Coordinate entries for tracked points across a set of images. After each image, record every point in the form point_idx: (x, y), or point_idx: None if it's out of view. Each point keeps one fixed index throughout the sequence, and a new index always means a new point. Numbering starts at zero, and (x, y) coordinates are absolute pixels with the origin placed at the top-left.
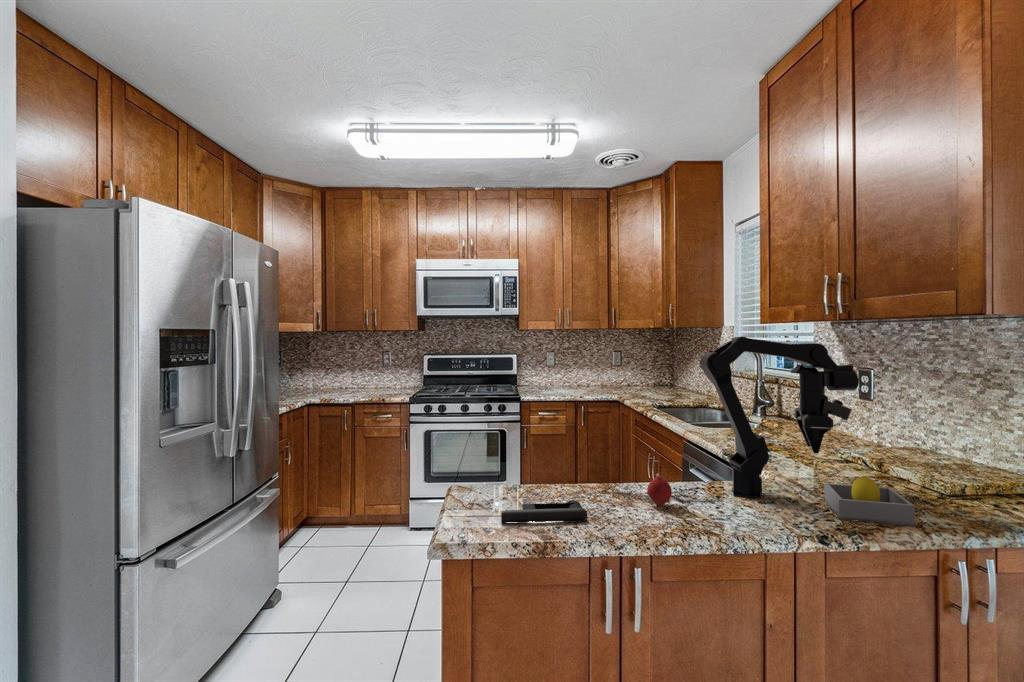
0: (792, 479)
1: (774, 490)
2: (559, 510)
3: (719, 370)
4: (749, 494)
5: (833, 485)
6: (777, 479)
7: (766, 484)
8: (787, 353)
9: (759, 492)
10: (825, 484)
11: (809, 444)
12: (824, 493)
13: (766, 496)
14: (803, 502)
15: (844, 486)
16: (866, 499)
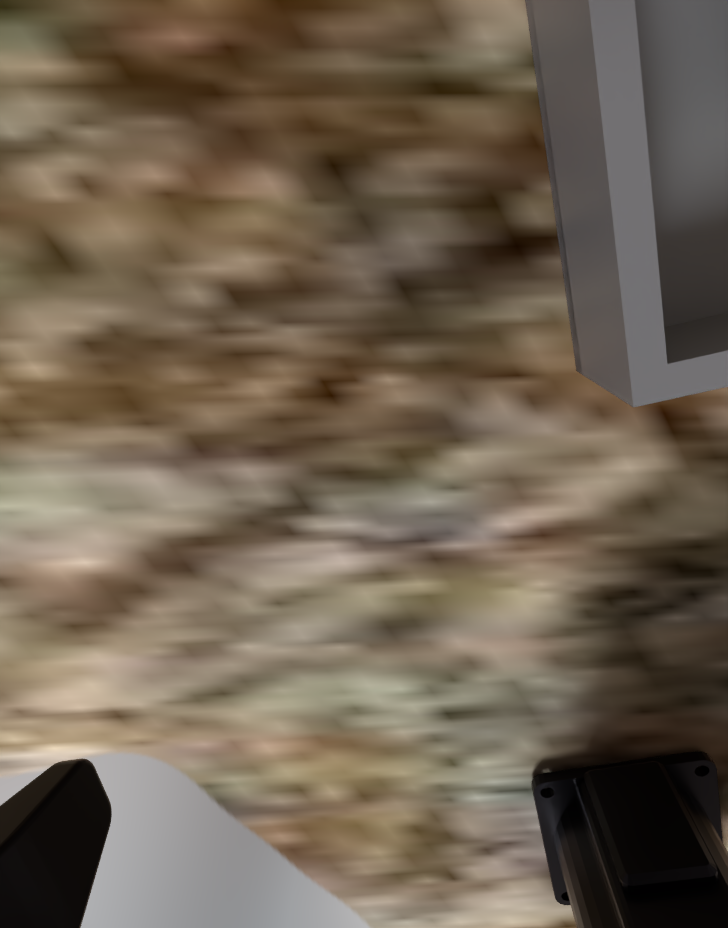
0: (30, 607)
1: (438, 690)
2: None
3: None
4: (710, 818)
5: (655, 315)
6: (105, 693)
7: (298, 742)
8: None
9: (673, 780)
10: (690, 393)
11: (86, 822)
12: (597, 383)
13: (628, 721)
14: (686, 508)
15: (648, 200)
16: None
